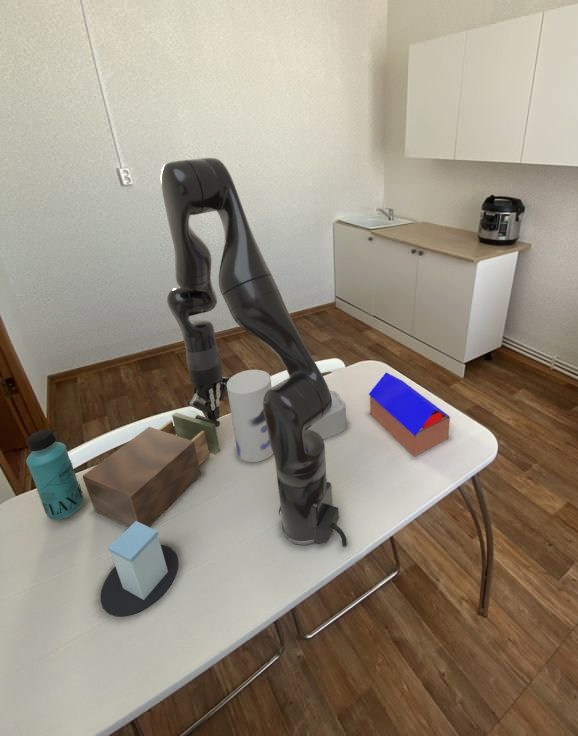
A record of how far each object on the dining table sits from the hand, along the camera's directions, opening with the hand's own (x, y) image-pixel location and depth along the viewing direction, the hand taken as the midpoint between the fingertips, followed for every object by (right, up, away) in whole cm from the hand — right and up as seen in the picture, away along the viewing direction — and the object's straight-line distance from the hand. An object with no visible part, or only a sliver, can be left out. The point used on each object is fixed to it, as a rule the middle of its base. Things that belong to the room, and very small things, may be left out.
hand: (214, 418), depth 101 cm
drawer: (-4, -7, -8) cm, 11 cm away
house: (+51, -3, +3) cm, 51 cm away
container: (+13, -6, -4) cm, 15 cm away
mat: (0, -17, -34) cm, 38 cm away
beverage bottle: (-23, -13, -21) cm, 33 cm away
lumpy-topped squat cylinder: (+28, -3, +3) cm, 28 cm away
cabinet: (-8, -11, -16) cm, 21 cm away
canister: (+1, -17, -34) cm, 38 cm away
